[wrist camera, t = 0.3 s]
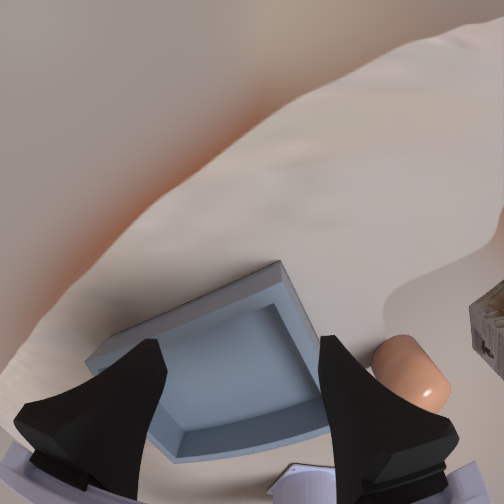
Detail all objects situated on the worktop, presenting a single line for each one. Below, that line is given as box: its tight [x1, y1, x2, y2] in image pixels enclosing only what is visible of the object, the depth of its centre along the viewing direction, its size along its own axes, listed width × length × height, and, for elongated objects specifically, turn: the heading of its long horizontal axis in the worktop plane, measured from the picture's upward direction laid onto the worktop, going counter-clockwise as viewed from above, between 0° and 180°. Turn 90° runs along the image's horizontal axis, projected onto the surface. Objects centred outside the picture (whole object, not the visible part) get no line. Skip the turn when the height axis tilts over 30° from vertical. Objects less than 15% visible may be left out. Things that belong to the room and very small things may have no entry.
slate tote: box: [84, 260, 331, 464], centre depth 21 cm, size 18×14×5 cm
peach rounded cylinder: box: [371, 335, 451, 414], centre depth 19 cm, size 5×5×7 cm
